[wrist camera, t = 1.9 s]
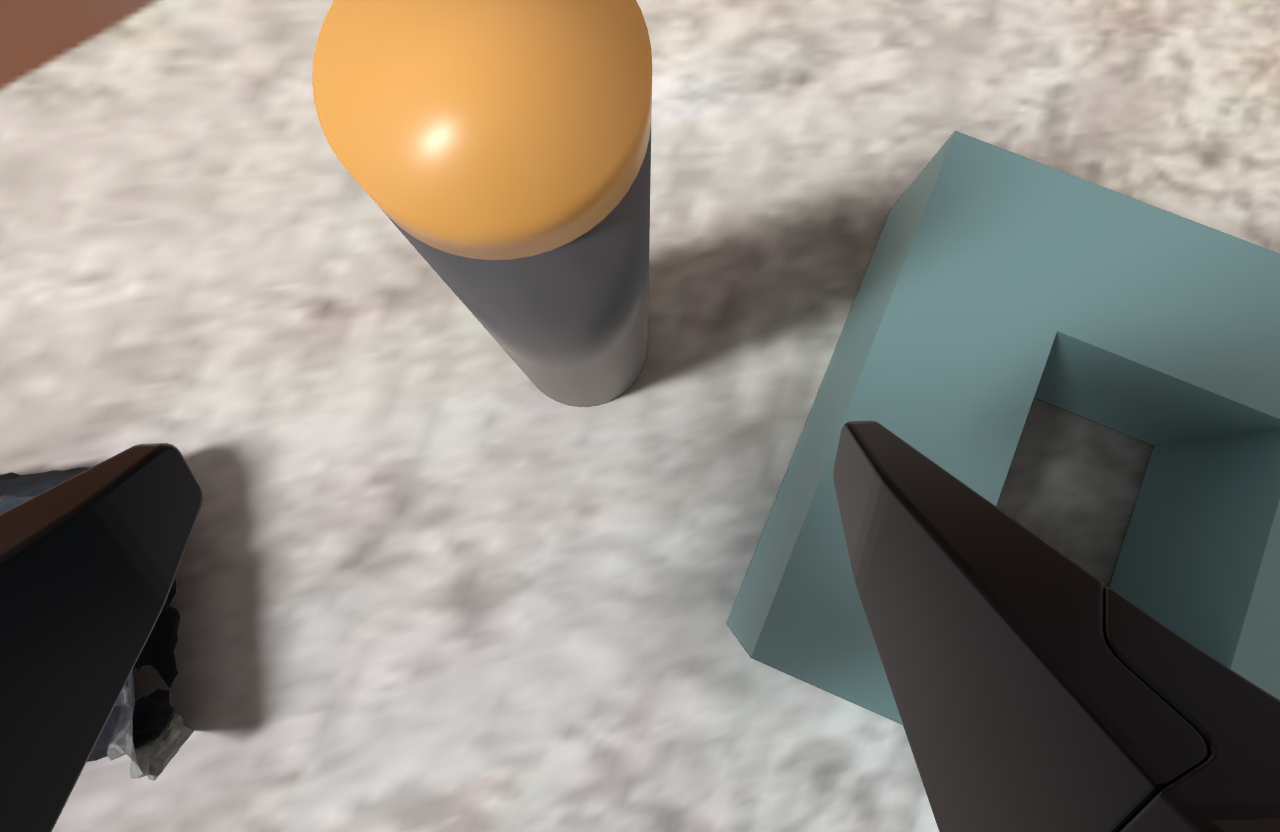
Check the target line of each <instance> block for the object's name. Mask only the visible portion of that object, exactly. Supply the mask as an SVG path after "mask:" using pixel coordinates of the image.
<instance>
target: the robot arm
mask: <svg viewBox="0 0 1280 832" xmlns="http://www.w3.org/2000/svg"><path fill="white" fill-rule="evenodd" d="M833 480H834V487H835V492H836V496H837V501H838V506H839V511H840V516H841V520H842V525H843V530H844V535H845V539H846V544H847V549H848V554H849V558H850V563H851V568H852V572H853V576H854V581H855V584H856V587H857V591H858V594H859V597H860V600H861V603H862V606H863V609H864V612H865V615H866V618H867V621H868V624H869V627H870V630H871V632H872V635H873V638H874V641H875V644H876V647H877V650H878V653H879V656H880V659H881V662H882V665H883V668H884V671H885V673H886V676H887V679H888V682H889V685H890V688H891V691H892V694H893V697H894V700H895V703H896V706H897V709H898V712H899V714H900V717H901V720H902V723H903V726H904V729H905V732H906V735H907V738H908V741H909V744H910V747H911V750H912V753H913V756H914V758H915V761H916V764H917V767H918V770H919V773H920V776H921V779H922V782H923V785H924V788H925V791H926V794H927V797H928V799H929V802H930V805H931V808H932V811H933V814H934V817H935V820H936V823H937V826H938V829H939V832H1280V700H1279V699H1277V698H1276V697H1274V696H1272V695H1271V694H1269V693H1268V692H1266V691H1264V690H1263V689H1261V688H1260V687H1258V686H1256V685H1255V684H1253V683H1251V682H1250V681H1248V680H1247V679H1245V678H1244V677H1242V676H1241V675H1239V674H1237V673H1236V672H1234V671H1233V670H1231V669H1230V668H1228V667H1227V666H1225V665H1223V664H1222V663H1220V662H1219V661H1217V660H1216V659H1214V658H1213V657H1211V656H1209V655H1208V654H1206V653H1205V652H1203V651H1202V650H1200V649H1198V648H1197V647H1195V646H1194V645H1192V644H1191V643H1189V642H1188V641H1186V640H1185V639H1183V638H1182V637H1181V636H1179V635H1178V634H1176V633H1175V632H1173V631H1172V630H1170V629H1169V628H1167V627H1166V626H1165V625H1163V624H1162V623H1160V622H1159V621H1157V620H1156V619H1154V618H1153V617H1151V616H1150V615H1149V614H1147V613H1146V612H1144V611H1143V610H1141V609H1140V608H1138V607H1137V606H1136V605H1134V604H1133V603H1131V602H1130V601H1129V600H1127V599H1126V598H1124V597H1123V596H1122V595H1120V594H1119V593H1117V592H1116V591H1115V590H1113V589H1112V588H1110V587H1106V588H1104V585H1103V583H1102V582H1101V581H1100V580H1099V579H1097V578H1096V577H1095V576H1093V575H1092V574H1090V573H1089V572H1088V571H1086V570H1085V569H1083V568H1082V567H1080V566H1079V565H1078V564H1076V563H1075V562H1073V561H1072V560H1071V559H1069V558H1068V557H1066V556H1065V555H1064V554H1062V553H1061V552H1059V551H1058V550H1057V549H1055V548H1054V547H1052V546H1051V545H1050V544H1048V543H1047V542H1045V541H1044V540H1043V539H1041V538H1040V537H1038V536H1037V535H1036V534H1034V533H1033V532H1031V531H1030V530H1029V529H1027V528H1026V527H1024V526H1023V525H1022V524H1020V523H1019V522H1017V521H1016V520H1015V519H1013V518H1012V517H1010V516H1009V515H1008V514H1006V513H1005V512H1003V511H1002V510H1001V509H999V508H998V507H996V506H995V505H993V504H992V503H991V502H989V501H988V500H986V499H985V498H984V497H982V496H981V495H979V494H978V493H977V492H975V491H974V490H972V489H971V488H970V487H968V486H967V485H965V484H964V483H963V482H961V481H960V480H958V479H957V478H956V477H954V476H953V475H951V474H950V473H949V472H947V471H946V470H944V469H943V468H942V467H940V466H939V465H937V464H936V463H935V462H933V461H932V460H930V459H929V458H928V457H926V456H925V455H923V454H922V453H921V452H919V451H918V450H916V449H915V448H914V447H912V446H911V445H909V444H908V443H907V442H905V441H904V440H902V439H901V438H899V437H898V436H897V435H895V434H894V433H892V432H891V431H890V430H888V429H887V428H885V427H884V426H883V425H881V424H880V423H878V422H876V421H849V422H847V423H845V424H844V425H843V427H842V429H841V433H840V438H839V443H838V448H837V453H836V458H835V463H834V469H833ZM202 500H203V494H202V489H201V486H200V484H199V483H198V481H197V479H196V478H195V476H194V474H193V473H192V471H191V469H190V467H189V466H188V464H187V462H186V461H185V459H184V457H183V456H182V454H181V452H180V451H179V450H178V449H177V448H176V447H175V446H173V445H171V444H167V443H156V444H139V445H135V446H133V447H131V448H129V449H127V450H125V451H123V452H121V453H119V454H117V455H115V456H113V457H112V458H110V459H108V460H106V461H104V462H102V463H100V464H98V465H96V466H94V467H92V468H90V469H88V470H86V471H84V472H82V473H80V474H78V475H77V476H75V477H73V478H71V479H69V480H67V481H65V482H63V483H61V484H59V485H57V486H55V487H53V488H51V489H49V490H47V491H45V492H43V493H42V494H40V495H38V496H36V497H34V498H32V499H30V500H28V501H26V502H24V503H22V504H20V505H18V506H16V507H14V508H12V509H10V510H8V511H7V512H5V513H3V514H1V515H0V832H52V830H53V828H54V826H55V824H56V822H57V820H58V818H59V816H60V814H61V812H62V810H63V808H64V806H65V804H66V802H67V800H68V798H69V796H70V794H71V792H72V790H73V788H74V786H75V784H76V782H77V780H78V778H79V776H80V774H81V772H82V770H83V768H84V766H85V764H86V762H87V760H88V758H89V756H90V754H91V752H92V750H93V748H94V746H95V744H96V742H97V740H98V738H99V736H100V734H101V732H102V730H103V728H104V726H105V724H106V722H107V720H108V718H109V716H110V714H111V712H112V710H113V708H114V706H115V704H116V702H117V700H118V698H119V696H120V694H121V691H122V689H123V687H124V685H125V683H126V681H127V679H128V677H129V675H130V673H131V671H132V669H133V667H134V665H135V663H136V661H137V659H138V657H139V655H140V653H141V651H142V649H143V647H144V645H145V643H146V641H147V639H148V637H149V635H150V633H151V631H152V629H153V627H154V625H155V623H156V621H157V619H158V617H159V615H160V613H161V610H162V608H163V606H164V604H165V602H166V599H167V597H168V594H169V592H170V589H171V587H172V584H173V581H174V579H175V576H176V573H177V570H178V568H179V565H180V562H181V560H182V557H183V554H184V552H185V549H186V546H187V544H188V541H189V538H190V535H191V533H192V530H193V527H194V525H195V522H196V519H197V517H198V514H199V511H200V508H201V505H202Z"/></svg>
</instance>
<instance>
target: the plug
mask: <svg viewBox="0 0 1280 832" xmlns="http://www.w3.org/2000/svg"><path fill="white" fill-rule="evenodd" d="M313 92H314V101H315V106H316V110H317V114H318V118H319V122H320V124H321V127H322V129H323V131H324V134H325V136H326V139H327V141H328V143H329V144H330V146H331V148H332V149H333V151H334V153H335V154H336V156H337V158H338V159H339V161H340V162H341V163H342V164H343V165H344V167H345V168H346V169H347V170H348V172H349V173H350V174H351V175H352V176H353V178H354V179H355V180H356V181H357V182H358V183H359V184H360V186H361V187H362V188H363V189H364V190H365V191H366V192H367V194H368V195H369V196H370V197H371V198H372V199H373V200H374V202H375V203H376V204H377V205H378V206H379V207H380V208H381V210H382V211H383V212H384V213H385V214H386V215H387V216H388V218H389V219H390V220H391V221H392V222H393V223H394V224H395V226H396V227H397V228H398V229H399V230H400V231H401V232H402V234H403V235H404V236H405V237H406V238H407V239H408V240H409V242H410V243H411V244H412V245H413V246H414V247H415V248H416V250H417V251H418V252H419V253H420V254H421V255H422V256H423V258H424V259H425V260H426V261H427V262H428V263H429V264H430V266H431V267H432V268H433V269H434V270H435V271H436V272H437V274H438V275H439V276H440V277H441V278H442V279H443V280H444V282H445V283H446V284H447V285H448V286H449V287H450V288H451V290H452V291H453V292H454V293H455V294H456V295H457V296H458V298H459V299H460V300H461V301H462V302H463V303H464V304H465V306H466V307H467V308H468V309H469V310H470V311H471V312H472V314H473V315H474V316H475V317H476V318H477V319H478V320H479V322H480V323H481V324H482V325H483V326H484V327H485V328H486V330H487V331H488V332H489V333H490V334H491V335H492V336H493V338H494V339H495V340H496V341H497V342H498V343H499V344H500V346H501V347H502V348H503V349H504V350H505V351H506V352H507V354H508V355H509V356H510V357H511V358H512V359H513V360H514V362H515V363H516V364H517V365H518V366H519V367H520V368H521V370H522V371H523V372H524V373H525V374H526V375H527V376H528V378H529V379H530V380H531V381H532V382H533V383H534V384H535V386H536V387H537V388H538V389H539V390H540V391H542V392H543V393H544V394H545V395H547V396H548V397H550V398H551V399H553V400H555V401H557V402H560V403H563V404H566V405H570V406H577V407H590V406H596V405H600V404H604V403H607V402H609V401H611V400H613V399H615V398H617V397H618V396H620V395H622V394H623V393H624V392H625V391H626V390H628V389H629V388H630V386H631V385H632V384H633V383H634V382H635V380H636V379H637V378H638V376H639V374H640V372H641V371H642V368H643V366H644V363H645V360H646V355H647V347H648V292H649V229H650V167H651V104H652V56H651V45H650V40H649V35H648V30H647V26H646V24H645V21H644V18H643V15H642V12H641V9H640V7H639V5H638V4H637V2H636V0H335V1H334V2H333V4H332V6H331V8H330V10H329V12H328V14H327V16H326V18H325V20H324V22H323V25H322V28H321V31H320V34H319V37H318V40H317V44H316V50H315V55H314V61H313Z"/></svg>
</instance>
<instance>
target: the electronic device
mask: <svg viewBox="0 0 1280 832" xmlns="http://www.w3.org/2000/svg"><path fill="white" fill-rule="evenodd" d="M88 469H90V468H76V469H71V470H65V471H49V472H45V473H38V474H30V475H22V476H21V475H18V474H15V473H7V474H4V475H0V515H1V514H3V513H5V512H7V511H8V510H10V509H12V508H14V507H16V506H18V505H20V504H22V503H24V502H26V501H28V500H30V499H32V498H34V497H36V496H38V495H40V494H42V493H43V492H45V491H47V490H49V489H51V488H53V487H55V486H57V485H59V484H61V483H63V482H65V481H67V480H69V479H71V478H73V477H75V476H77V475H78V474H80V473H82V472H84V471H86V470H88ZM175 593H176V581H175V579H174V581H173V584H172V587H171V589H170V592H169V594H168V597H167V599H166V602H165V604H164V606H163V608H162V610H161V613H160V615H159V617H158V619H157V621H156V623H155V625H154V627H153V629H152V631H151V633H150V635H149V637H148V639H147V641H146V643H145V645H144V647H143V649H142V651H141V653H140V655H139V657H138V659H137V661H136V663H135V665H134V666H135V667H136V669H137V670H138V669H140V668H141V667H142V666H144V665H151V666H152V667H153V668H155V669H156V670H157V671H158V673H159V674H160V676H161V677H162V678H163V680H164V681H165V683H166V684H167V685H168V687H171V685H172V683H173V680H174V678H175V677H176V676H177V674H178V671H177V667H176V661H175V656H174V649H175V646H176V644H177V641H178V635H177V630H178V625H179V620H180V615H179V613H178V611H177V609H175V608H172V607H169V605H170V603H171V600H172V598H173V597H174V595H175ZM182 723H183V719H182V717H181V715H177V714H176V713H175V711H174V710H173V708H172V707H171V705H170V703H169V691H168V690H160V689H157V690H155V691H154V692H153V693H151V694H150V695H149V696H147V697H142V698H140V699H138V700H137V701H135V692H134V679H133V669H132V671H131V673H130V675H129V677H128V679H127V681H126V683H125V685H124V687H123V689H122V691H121V694H120V696H119V698H118V700H117V702H116V704H115V706H114V708H113V710H112V712H111V714H110V716H109V718H108V720H107V722H106V724H105V726H104V728H103V730H102V732H101V734H100V736H99V738H98V740H97V742H96V744H95V746H94V748H93V750H92V752H91V754H90V756H89V758H88V760H87V762H88V761H95V760H98V759H101V758H104V757H106V756H109V758H110V759H111V761H112V760H114V759H116V758H118V757H120V756H122V755H124V754H127V755H128V756H129V757H130V758H131V766H130V773H131V778H140V777H143V776H146V775H147V776H148V778H149V779H150V780H155V779H156V778H157V777H158V776H159V775H160V774H161V773H162V771H163V770H164V768H165V767H166V766H167V764H168V763H169V761H170V760H171V759H172V758H173V757H174V756H175V754H176V753H177V752H178V750H179V749H180V747H181V746H182V745H183V744H184V742H185V741H186V740H187V739H188V738H189V737H190V735H191V734H192V733H193V732H194V730H192V729H190V728H188V727H186V726H185V725H183V724H182Z"/></svg>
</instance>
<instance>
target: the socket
mask: <svg viewBox="0 0 1280 832" xmlns="http://www.w3.org/2000/svg"><path fill="white" fill-rule="evenodd" d="M1034 398H1037V399H1039V400H1042V401H1044V402H1047V403H1049V404H1052V405H1054V406H1057V407H1059V408H1062V409H1064V410H1067V411H1069V412H1071V413H1074V414H1076V415H1079V416H1081V417H1084V418H1086V419H1089V420H1091V421H1094V422H1096V423H1099V424H1101V425H1104V426H1106V427H1109V428H1111V429H1114V430H1116V431H1119V432H1121V433H1124V434H1126V435H1128V436H1131V437H1133V438H1136V439H1138V440H1141V441H1143V442H1146V443H1148V444H1151V445H1153V446H1154V448H1153V451H1152V454H1151V457H1150V460H1149V463H1148V466H1147V470H1146V473H1145V476H1144V479H1143V482H1142V485H1141V488H1140V491H1139V495H1138V498H1137V501H1136V504H1135V507H1134V510H1133V513H1132V517H1131V520H1130V523H1129V526H1128V529H1127V532H1126V535H1125V539H1124V542H1123V545H1122V548H1121V551H1120V554H1119V557H1118V560H1117V564H1116V567H1115V570H1114V573H1113V576H1112V579H1111V582H1110V586H1109V587H1110V588H1112V589H1113V590H1115V591H1116V592H1117V593H1119V594H1120V595H1122V596H1123V597H1124V598H1126V599H1127V600H1129V601H1130V602H1131V603H1133V604H1134V605H1136V606H1137V607H1138V608H1140V609H1141V610H1143V611H1144V612H1146V613H1147V614H1149V615H1150V616H1151V617H1153V618H1154V619H1156V620H1157V621H1159V622H1160V623H1162V624H1163V625H1165V626H1166V627H1167V628H1169V629H1170V630H1172V631H1173V632H1175V633H1176V634H1178V635H1179V636H1181V637H1182V638H1183V639H1185V640H1186V641H1188V642H1189V643H1191V644H1192V645H1194V646H1195V647H1197V648H1198V649H1200V650H1202V651H1203V652H1205V653H1206V654H1208V655H1209V656H1211V657H1213V658H1214V659H1216V660H1217V661H1219V662H1220V663H1222V664H1223V665H1225V666H1227V667H1228V668H1230V669H1231V670H1233V671H1234V672H1236V673H1237V674H1239V675H1241V676H1242V677H1244V678H1245V679H1247V680H1248V681H1250V682H1251V683H1253V684H1255V685H1256V686H1258V687H1260V688H1261V689H1263V690H1264V691H1266V692H1268V693H1269V694H1271V695H1272V696H1274V697H1276V698H1277V699H1279V700H1280V254H1279V253H1276V252H1273V251H1271V250H1268V249H1266V248H1263V247H1260V246H1258V245H1255V244H1252V243H1250V242H1247V241H1244V240H1242V239H1239V238H1237V237H1234V236H1231V235H1229V234H1226V233H1223V232H1221V231H1218V230H1215V229H1213V228H1210V227H1208V226H1205V225H1202V224H1200V223H1197V222H1194V221H1192V220H1189V219H1186V218H1184V217H1181V216H1179V215H1176V214H1173V213H1171V212H1168V211H1165V210H1163V209H1160V208H1157V207H1155V206H1152V205H1150V204H1147V203H1144V202H1142V201H1139V200H1136V199H1134V198H1131V197H1128V196H1126V195H1123V194H1121V193H1118V192H1115V191H1113V190H1110V189H1107V188H1105V187H1102V186H1100V185H1097V184H1094V183H1092V182H1089V181H1086V180H1084V179H1081V178H1078V177H1076V176H1073V175H1071V174H1068V173H1065V172H1063V171H1060V170H1057V169H1055V168H1052V167H1049V166H1047V165H1044V164H1042V163H1039V162H1036V161H1034V160H1031V159H1028V158H1026V157H1023V156H1020V155H1018V154H1015V153H1013V152H1010V151H1007V150H1005V149H1002V148H999V147H997V146H994V145H991V144H989V143H986V142H984V141H981V140H978V139H976V138H973V137H970V136H968V135H965V134H963V133H960V132H957V131H955V132H954V133H953V134H952V135H951V137H950V138H949V139H948V140H947V141H946V143H945V144H944V145H943V146H942V148H941V149H940V150H939V151H938V152H937V154H936V155H935V156H934V157H933V159H932V160H931V161H930V162H929V163H928V165H927V166H926V167H925V168H924V170H923V171H922V172H921V173H920V175H919V176H918V177H917V178H916V179H915V181H914V182H913V183H912V184H911V186H910V187H909V188H908V189H907V190H906V192H905V193H904V194H903V195H902V197H901V198H900V199H899V200H898V201H897V203H896V204H895V205H894V206H893V208H892V209H891V210H890V212H889V214H888V217H887V219H886V222H885V224H884V227H883V229H882V232H881V234H880V237H879V239H878V242H877V245H876V247H875V250H874V252H873V255H872V257H871V260H870V262H869V265H868V267H867V270H866V272H865V275H864V277H863V280H862V282H861V285H860V288H859V290H858V293H857V295H856V298H855V300H854V303H853V305H852V308H851V310H850V313H849V315H848V318H847V320H846V323H845V325H844V328H843V330H842V333H841V336H840V338H839V341H838V343H837V346H836V348H835V351H834V353H833V356H832V358H831V361H830V363H829V366H828V368H827V371H826V373H825V376H824V379H823V381H822V384H821V386H820V389H819V391H818V394H817V396H816V399H815V401H814V404H813V406H812V409H811V411H810V414H809V416H808V419H807V421H806V424H805V427H804V429H803V432H802V434H801V437H800V439H799V442H798V444H797V447H796V449H795V452H794V454H793V457H792V459H791V462H790V464H789V467H788V470H787V472H786V475H785V477H784V480H783V482H782V485H781V487H780V490H779V492H778V495H777V497H776V500H775V502H774V505H773V507H772V510H771V513H770V515H769V518H768V520H767V523H766V525H765V528H764V530H763V533H762V535H761V538H760V540H759V543H758V545H757V548H756V550H755V553H754V555H753V558H752V561H751V563H750V566H749V568H748V571H747V573H746V576H745V578H744V581H743V583H742V586H741V588H740V591H739V593H738V596H737V598H736V601H735V604H734V606H733V609H732V611H731V614H730V616H729V619H728V621H727V625H728V627H729V628H730V629H731V631H732V632H733V634H734V635H735V636H736V638H737V639H738V641H739V642H740V643H741V645H742V646H743V648H744V649H745V650H746V652H747V653H748V654H749V656H750V657H751V658H752V659H755V660H757V661H759V662H762V663H764V664H766V665H768V666H771V667H773V668H775V669H777V670H780V671H782V672H784V673H786V674H789V675H791V676H793V677H795V678H798V679H800V680H802V681H804V682H807V683H809V684H811V685H814V686H816V687H818V688H820V689H823V690H825V691H827V692H829V693H832V694H834V695H836V696H838V697H841V698H843V699H845V700H847V701H850V702H852V703H854V704H856V705H859V706H861V707H863V708H865V709H868V710H870V711H872V712H875V713H877V714H879V715H881V716H884V717H886V718H888V719H890V720H893V721H895V722H897V723H899V724H902V725H903V723H902V720H901V717H900V714H899V712H898V709H897V706H896V703H895V700H894V697H893V694H892V691H891V688H890V685H889V682H888V679H887V676H886V673H885V671H884V668H883V665H882V662H881V659H880V656H879V653H878V650H877V647H876V644H875V641H874V638H873V635H872V632H871V630H870V627H869V624H868V621H867V618H866V615H865V612H864V609H863V606H862V603H861V600H860V597H859V594H858V591H857V587H856V584H855V581H854V576H853V572H852V568H851V563H850V558H849V554H848V549H847V544H846V539H845V535H844V530H843V525H842V520H841V516H840V511H839V506H838V501H837V496H836V492H835V487H834V480H833V469H834V463H835V458H836V453H837V448H838V443H839V438H840V433H841V429H842V427H843V425H844V424H845V423H847V422H849V421H876V422H878V423H880V424H881V425H883V426H884V427H885V428H887V429H888V430H890V431H891V432H892V433H894V434H895V435H897V436H898V437H899V438H901V439H902V440H904V441H905V442H907V443H908V444H909V445H911V446H912V447H914V448H915V449H916V450H918V451H919V452H921V453H922V454H923V455H925V456H926V457H928V458H929V459H930V460H932V461H933V462H935V463H936V464H937V465H939V466H940V467H942V468H943V469H944V470H946V471H947V472H949V473H950V474H951V475H953V476H954V477H956V478H957V479H958V480H960V481H961V482H963V483H964V484H965V485H967V486H968V487H970V488H971V489H972V490H974V491H975V492H977V493H978V494H979V495H981V496H982V497H984V498H985V499H986V500H988V501H989V502H991V503H992V504H993V505H995V506H996V505H997V502H998V499H999V497H1000V494H1001V491H1002V488H1003V485H1004V482H1005V479H1006V477H1007V474H1008V471H1009V468H1010V465H1011V462H1012V459H1013V456H1014V454H1015V451H1016V448H1017V445H1018V442H1019V439H1020V436H1021V433H1022V431H1023V428H1024V425H1025V422H1026V419H1027V416H1028V413H1029V410H1030V408H1031V405H1032V402H1033V399H1034Z"/></svg>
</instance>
